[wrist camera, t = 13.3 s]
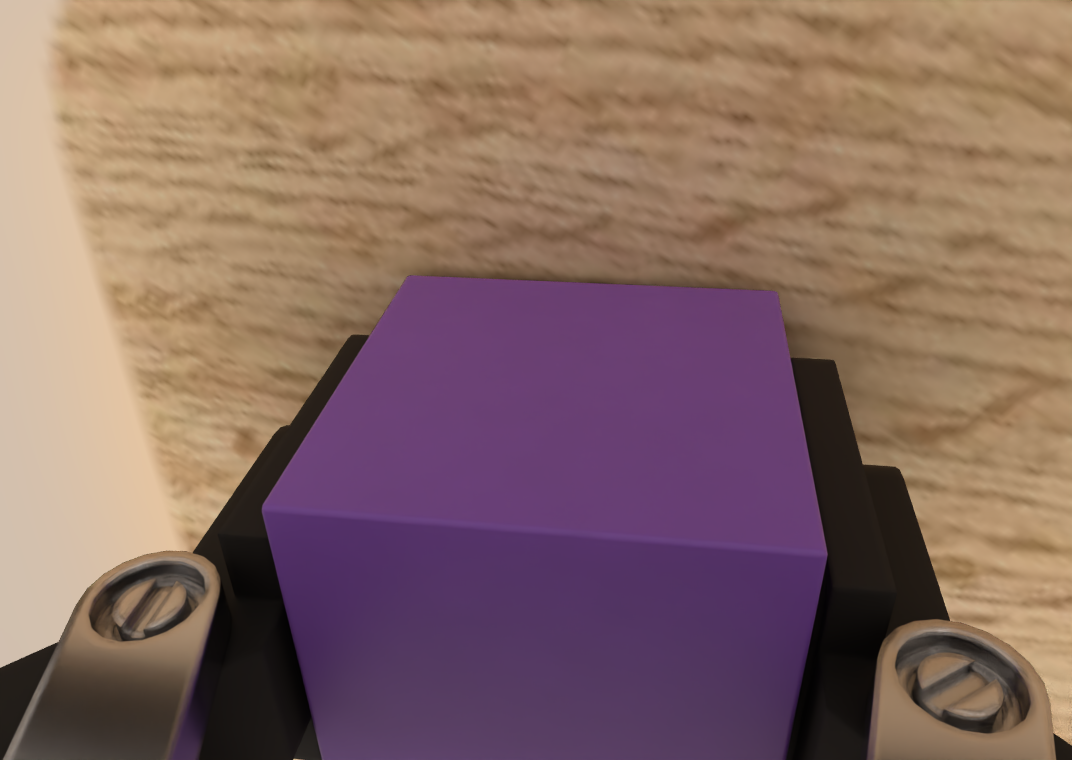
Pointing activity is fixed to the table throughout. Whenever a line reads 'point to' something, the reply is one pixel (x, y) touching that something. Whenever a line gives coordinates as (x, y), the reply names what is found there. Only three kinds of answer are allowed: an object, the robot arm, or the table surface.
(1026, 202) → the table surface
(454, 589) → the cube
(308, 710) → the robot arm
